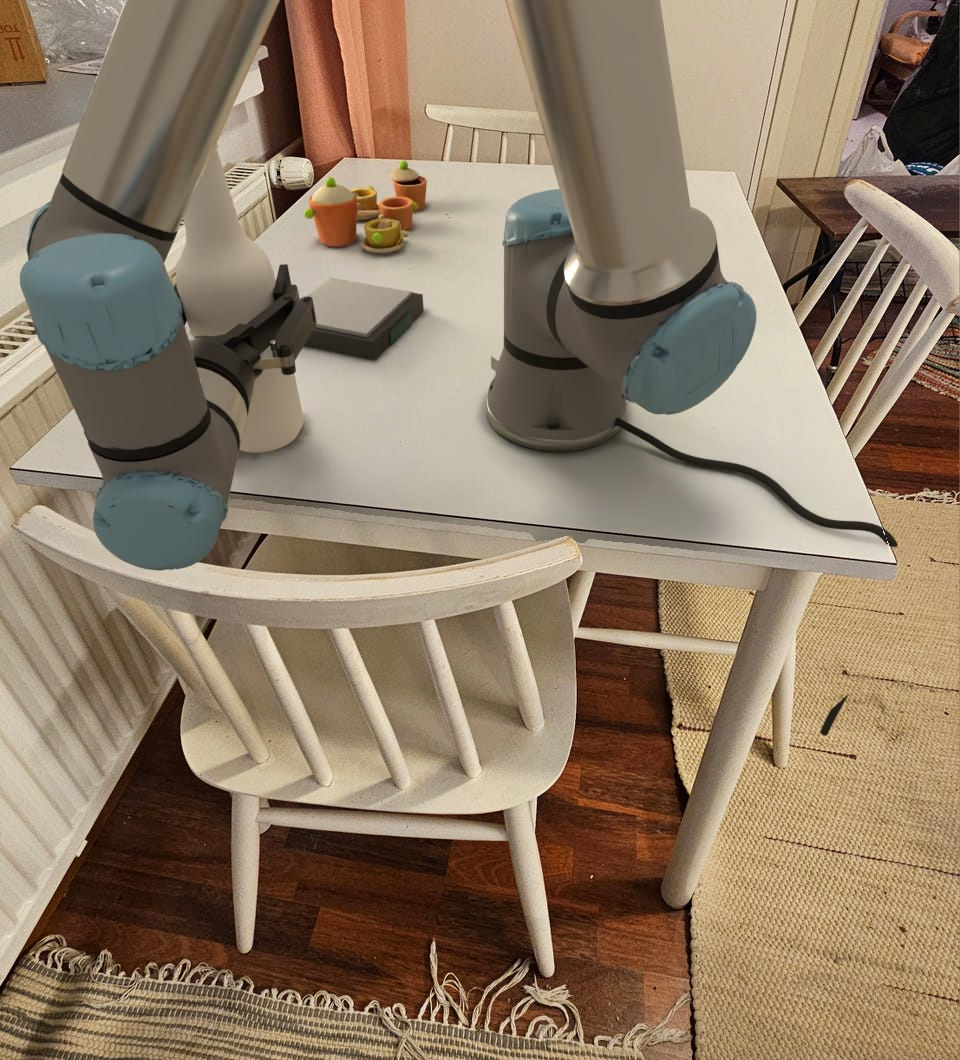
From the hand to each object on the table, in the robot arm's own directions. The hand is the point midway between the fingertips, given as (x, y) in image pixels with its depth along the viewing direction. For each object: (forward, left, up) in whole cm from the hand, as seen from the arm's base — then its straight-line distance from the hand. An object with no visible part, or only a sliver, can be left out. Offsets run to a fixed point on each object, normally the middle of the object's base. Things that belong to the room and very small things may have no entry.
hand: (238, 280), depth 74 cm
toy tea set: (+39, -39, -15) cm, 57 cm away
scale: (+11, -18, -15) cm, 26 cm away
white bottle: (-4, +2, -15) cm, 16 cm away
